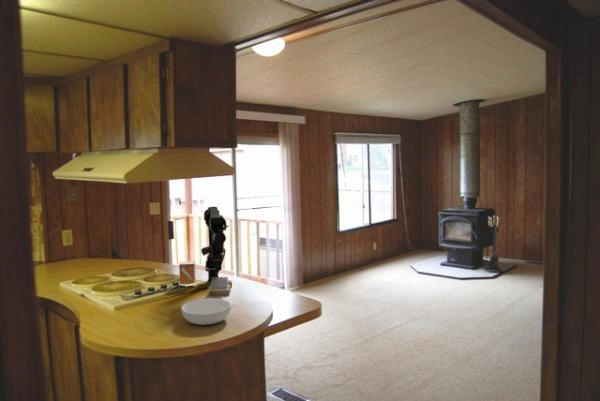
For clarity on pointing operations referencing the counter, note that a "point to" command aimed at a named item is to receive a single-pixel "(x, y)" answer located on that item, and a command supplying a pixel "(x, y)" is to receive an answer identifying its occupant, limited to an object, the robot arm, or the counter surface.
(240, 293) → the counter surface
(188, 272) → the small box
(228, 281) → the oak offcut
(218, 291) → the stand
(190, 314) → the serving bowl
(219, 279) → the housing
